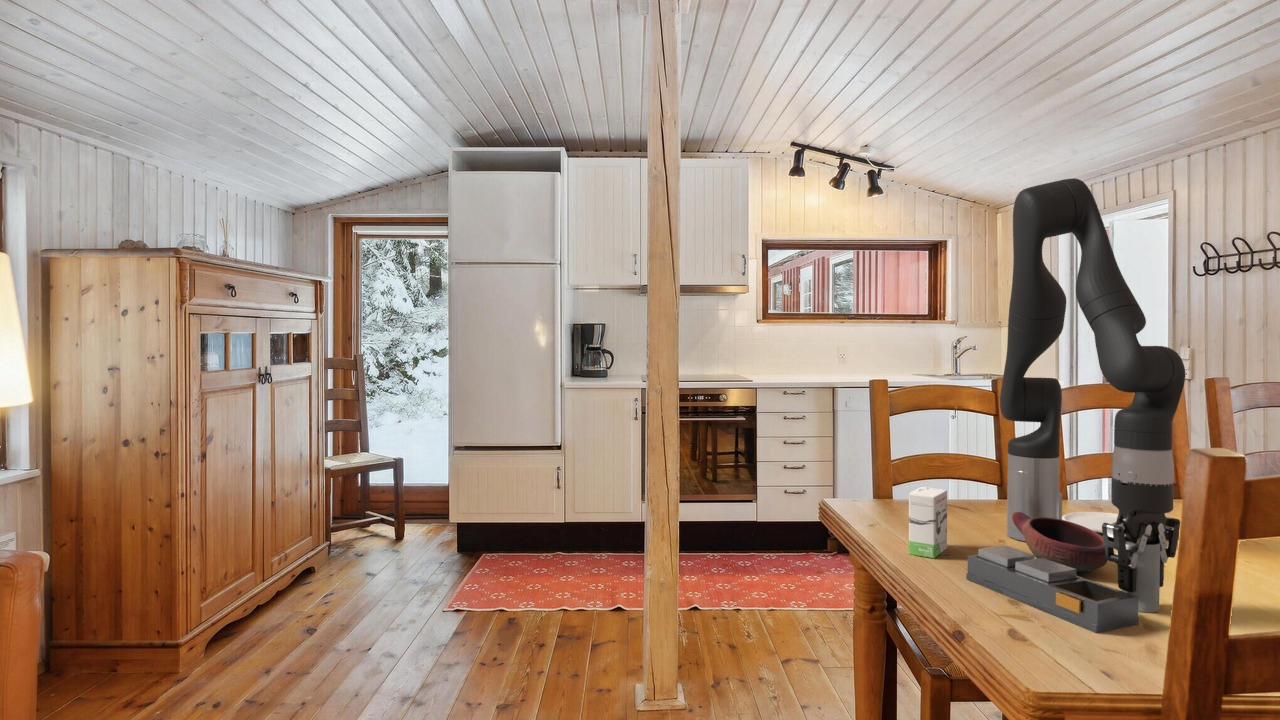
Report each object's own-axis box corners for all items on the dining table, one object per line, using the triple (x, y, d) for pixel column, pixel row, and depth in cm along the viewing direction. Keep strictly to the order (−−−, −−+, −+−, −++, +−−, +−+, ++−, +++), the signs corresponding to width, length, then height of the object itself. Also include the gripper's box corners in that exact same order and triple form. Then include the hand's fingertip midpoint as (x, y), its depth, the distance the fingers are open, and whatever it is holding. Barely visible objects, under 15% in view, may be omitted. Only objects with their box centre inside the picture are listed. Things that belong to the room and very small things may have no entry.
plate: (1193, 532, 144) (1193, 526, 144) (1156, 548, 132) (1156, 542, 132) (1085, 512, 161) (1086, 507, 161) (1044, 525, 149) (1044, 520, 149)
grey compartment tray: (964, 579, 114) (965, 547, 114) (1004, 573, 117) (1005, 542, 116) (1094, 633, 92) (1094, 594, 92) (1139, 624, 95) (1139, 586, 95)
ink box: (934, 559, 124) (935, 496, 124) (907, 554, 128) (907, 493, 127) (947, 548, 131) (948, 489, 131) (921, 544, 134) (922, 485, 134)
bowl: (1114, 567, 120) (1114, 523, 120) (1105, 587, 110) (1106, 538, 110) (1013, 549, 130) (1014, 509, 130) (997, 566, 120) (998, 522, 120)
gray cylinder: (1114, 601, 104) (1115, 536, 103) (1141, 601, 104) (1142, 535, 104) (1138, 613, 99) (1139, 544, 99) (1167, 612, 99) (1168, 543, 99)
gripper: (1148, 470, 107) (1147, 574, 107) (1084, 475, 102) (1082, 585, 103) (1201, 478, 100) (1199, 591, 100) (1134, 485, 95) (1132, 603, 96)
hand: (1140, 587), depth 101 cm, fingers open, 5 cm apart
